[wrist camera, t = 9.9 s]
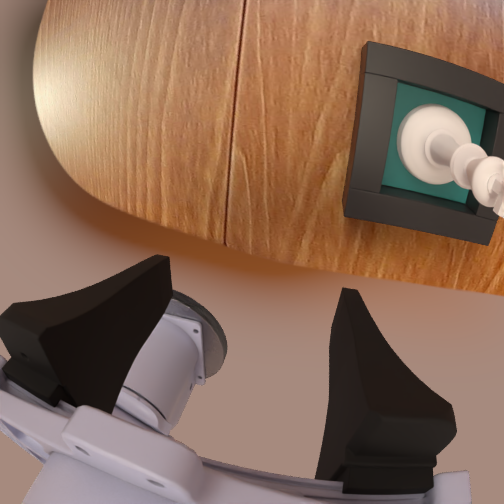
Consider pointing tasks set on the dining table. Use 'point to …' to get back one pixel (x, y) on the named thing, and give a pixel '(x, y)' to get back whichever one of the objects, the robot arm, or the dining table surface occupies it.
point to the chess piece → (449, 154)
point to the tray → (385, 143)
